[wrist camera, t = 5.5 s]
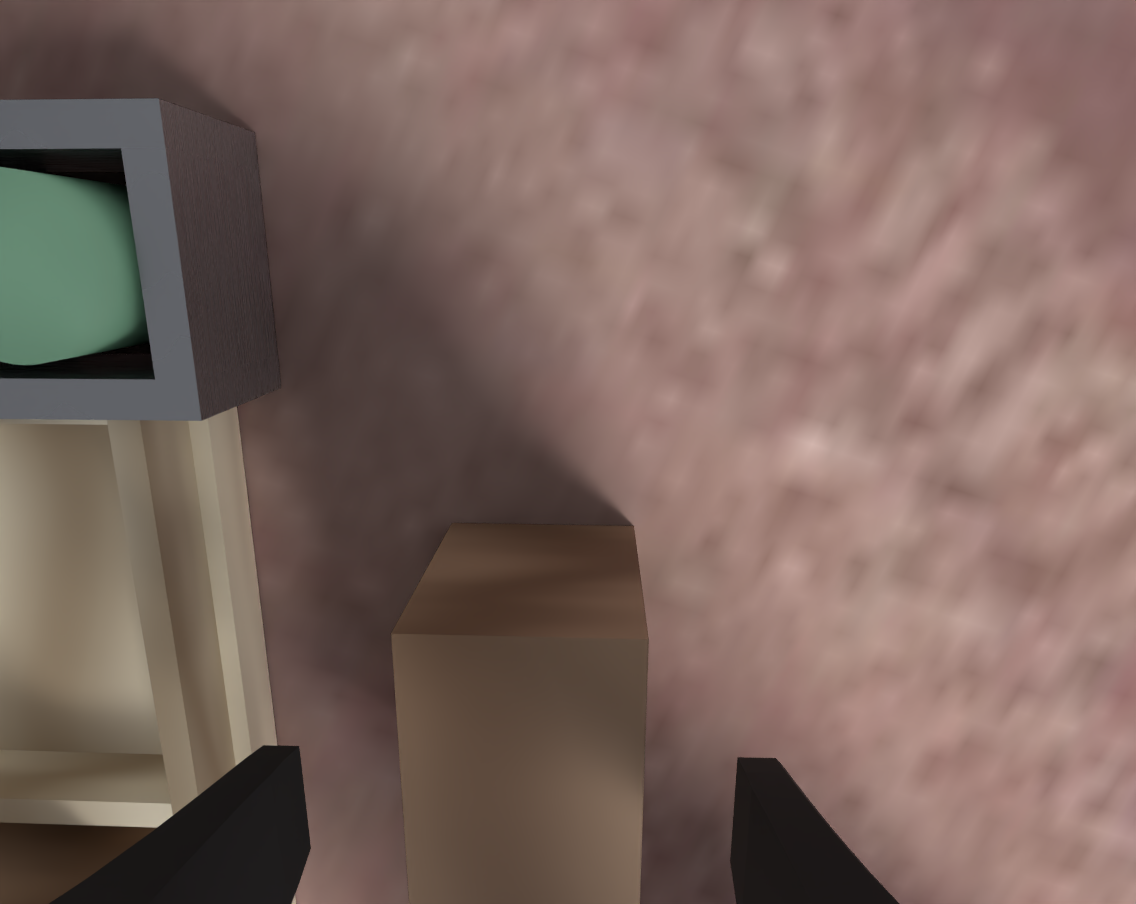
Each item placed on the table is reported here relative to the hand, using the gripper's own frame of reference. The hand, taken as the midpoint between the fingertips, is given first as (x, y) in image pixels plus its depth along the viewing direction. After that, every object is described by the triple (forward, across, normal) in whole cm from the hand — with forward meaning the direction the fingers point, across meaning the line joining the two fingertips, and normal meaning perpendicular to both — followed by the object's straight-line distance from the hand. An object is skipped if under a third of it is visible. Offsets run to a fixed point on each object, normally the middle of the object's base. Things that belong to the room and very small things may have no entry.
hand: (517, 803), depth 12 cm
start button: (+5, +8, -8) cm, 12 cm away
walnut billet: (+5, 0, 0) cm, 5 cm away
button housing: (+5, +8, -8) cm, 13 cm away
